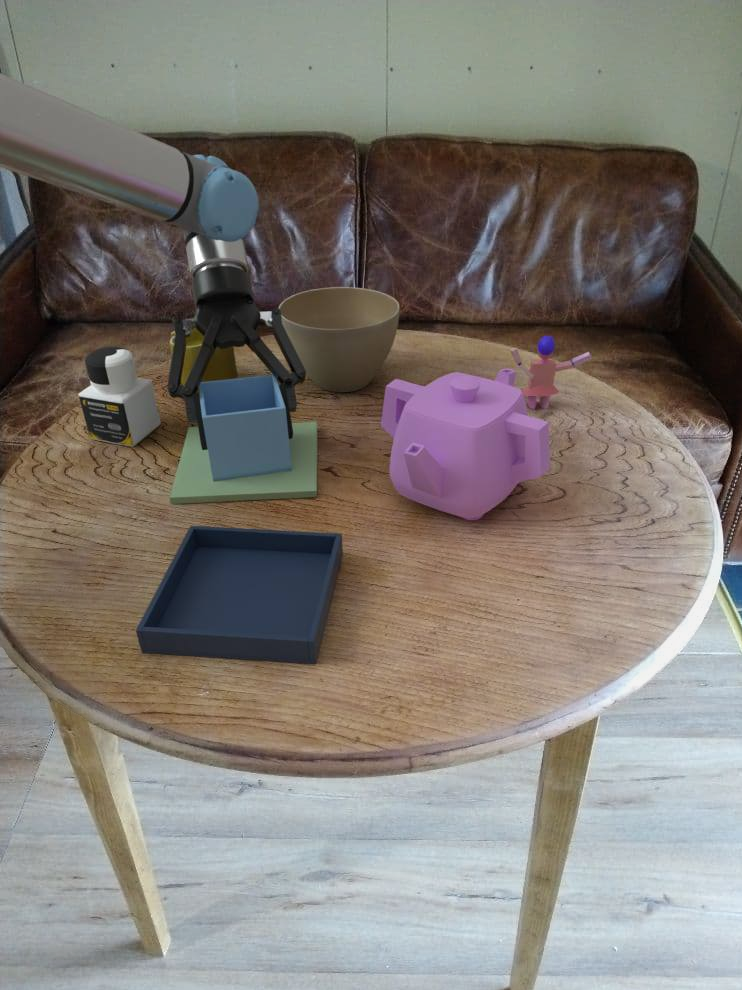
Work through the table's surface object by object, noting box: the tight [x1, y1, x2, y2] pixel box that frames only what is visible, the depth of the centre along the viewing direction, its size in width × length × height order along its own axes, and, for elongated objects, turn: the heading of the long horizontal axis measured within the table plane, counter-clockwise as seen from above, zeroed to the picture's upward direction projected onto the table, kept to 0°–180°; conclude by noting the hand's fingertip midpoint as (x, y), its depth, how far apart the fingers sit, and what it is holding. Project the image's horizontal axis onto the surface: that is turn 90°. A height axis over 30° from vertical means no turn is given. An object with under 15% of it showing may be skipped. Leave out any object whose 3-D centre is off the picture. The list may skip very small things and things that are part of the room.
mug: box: [168, 328, 239, 394], centre depth 124 cm, size 12×10×10 cm
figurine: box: [509, 335, 592, 410], centre depth 116 cm, size 3×12×11 cm, turn 100°
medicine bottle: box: [78, 346, 161, 448], centre depth 109 cm, size 7×7×12 cm
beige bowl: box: [278, 286, 401, 393], centre depth 122 cm, size 18×18×12 cm
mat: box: [169, 421, 318, 505], centre depth 106 cm, size 18×18×1 cm
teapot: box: [380, 367, 551, 521], centre depth 96 cm, size 19×18×15 cm
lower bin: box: [135, 525, 344, 665], centre depth 83 cm, size 17×17×3 cm
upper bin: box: [198, 373, 292, 481], centre depth 103 cm, size 10×10×9 cm
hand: (247, 441), depth 101 cm, fingers closed on upper bin, 10 cm apart
